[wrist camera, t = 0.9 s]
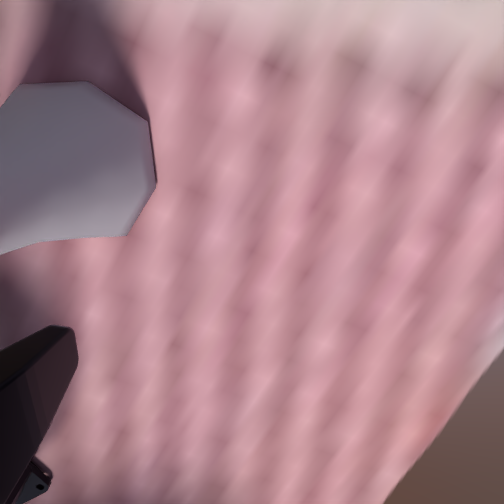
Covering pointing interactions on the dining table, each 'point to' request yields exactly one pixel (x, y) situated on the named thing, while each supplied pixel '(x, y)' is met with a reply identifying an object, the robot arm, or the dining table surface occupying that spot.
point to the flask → (70, 165)
